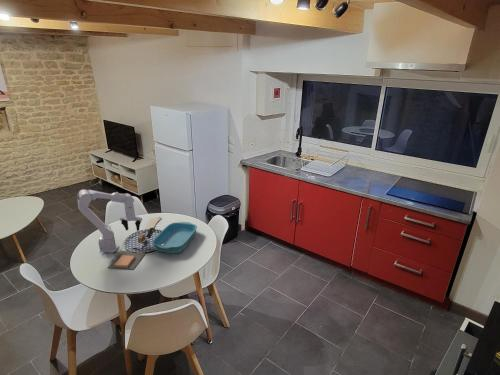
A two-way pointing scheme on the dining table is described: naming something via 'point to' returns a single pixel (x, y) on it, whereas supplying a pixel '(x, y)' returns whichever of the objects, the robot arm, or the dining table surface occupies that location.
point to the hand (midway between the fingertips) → (132, 230)
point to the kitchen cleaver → (152, 225)
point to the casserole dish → (175, 237)
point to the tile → (124, 261)
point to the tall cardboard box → (141, 238)
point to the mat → (134, 263)
